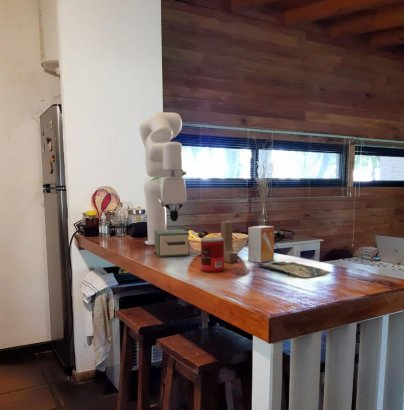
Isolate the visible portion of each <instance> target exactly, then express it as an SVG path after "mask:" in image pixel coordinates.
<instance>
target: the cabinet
mask: <svg viewBox="0 0 404 410" xmlns="http://www.w3.org/2000/svg"><path fill="white" fill-rule="evenodd" d="M166 235H188V237H189V238H190V233H189V231H186V229H185V230H184V229H183V228H181V229H179V228H178V229H166V230H154V236H155V245H154V252H155V254H156V255H157V256H158V258H170V257H172V258H173V257H188V256H190V240H189V241H188V254H178V255H161V253H160V236H166Z"/></svg>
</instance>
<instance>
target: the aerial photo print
mask: <svg viewBox="0 0 404 410" xmlns="http://www.w3.org/2000/svg"><path fill="white" fill-rule="evenodd" d="M257 265H258V266H260V267H264V268H268V269H273V270H277V271H281V272H286V273H288V274H289V275H291V276H293V277H294V278H297V277H299V278H311V277H317V276H323V275H325V274H326V273H329V271H328V270H324V269H322V268H320V267H315V266H311V265H306V264H303V263H297V262H294V261H291V262H290V261H289V262H286V261H273V262H271V263H267V264H263V263H256V266H257Z"/></svg>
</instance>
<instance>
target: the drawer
mask: <svg viewBox="0 0 404 410" xmlns="http://www.w3.org/2000/svg"><path fill="white" fill-rule="evenodd" d="M160 253H161V255H178V254H188V235H166V236H160Z"/></svg>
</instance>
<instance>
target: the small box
mask: <svg viewBox="0 0 404 410" xmlns="http://www.w3.org/2000/svg"><path fill="white" fill-rule="evenodd" d="M247 232H248V234H247V236H248V237H247V242H248V243H247V252H248V253H247V260H248V262H251V263H258V264H263V263H266V262H271V261H274V260H275V259H274V258H275V256H274V255H275V251H274V250H275V226H273V225H272V226H271V225H256V226H255V225H254V226H248V231H247Z"/></svg>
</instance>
